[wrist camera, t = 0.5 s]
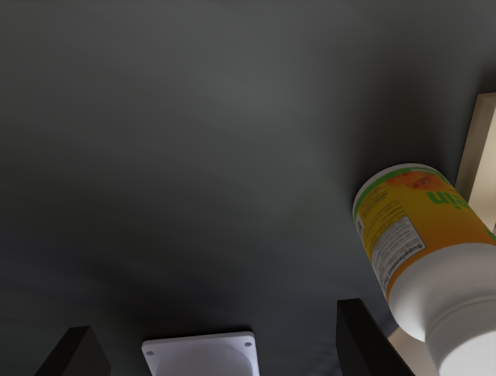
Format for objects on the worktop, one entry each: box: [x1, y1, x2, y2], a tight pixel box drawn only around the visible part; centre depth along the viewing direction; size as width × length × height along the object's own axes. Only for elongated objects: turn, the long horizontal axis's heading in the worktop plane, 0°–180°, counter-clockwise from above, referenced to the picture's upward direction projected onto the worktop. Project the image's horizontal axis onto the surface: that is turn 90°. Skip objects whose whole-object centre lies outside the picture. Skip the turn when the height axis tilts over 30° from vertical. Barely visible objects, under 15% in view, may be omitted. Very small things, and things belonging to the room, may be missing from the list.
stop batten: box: [454, 92, 496, 232], centre depth 22 cm, size 13×2×2 cm, turn 5°
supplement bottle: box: [352, 163, 496, 376], centre depth 18 cm, size 5×5×10 cm
